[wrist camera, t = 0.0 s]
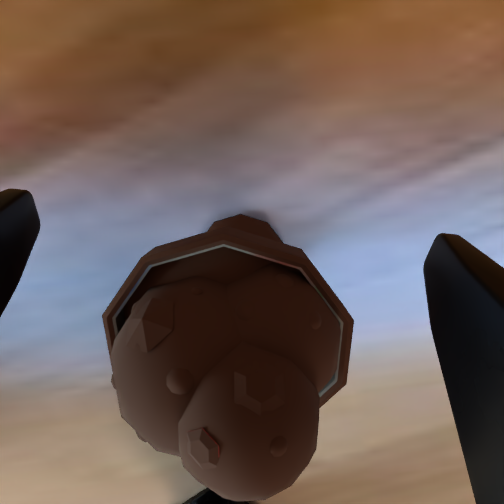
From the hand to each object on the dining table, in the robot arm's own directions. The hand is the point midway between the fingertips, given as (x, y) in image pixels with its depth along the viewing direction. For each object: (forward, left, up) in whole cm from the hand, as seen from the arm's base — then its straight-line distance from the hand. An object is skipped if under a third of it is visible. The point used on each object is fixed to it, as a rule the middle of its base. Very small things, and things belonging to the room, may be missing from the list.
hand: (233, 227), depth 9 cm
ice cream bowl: (-6, -5, -16) cm, 18 cm away
